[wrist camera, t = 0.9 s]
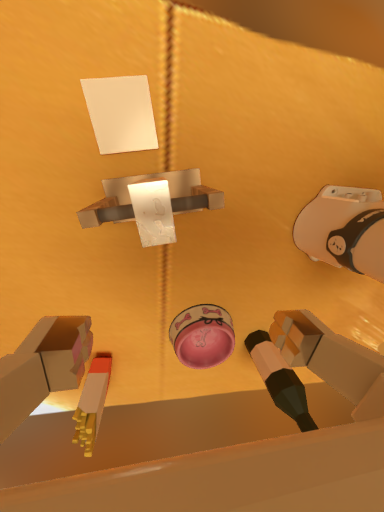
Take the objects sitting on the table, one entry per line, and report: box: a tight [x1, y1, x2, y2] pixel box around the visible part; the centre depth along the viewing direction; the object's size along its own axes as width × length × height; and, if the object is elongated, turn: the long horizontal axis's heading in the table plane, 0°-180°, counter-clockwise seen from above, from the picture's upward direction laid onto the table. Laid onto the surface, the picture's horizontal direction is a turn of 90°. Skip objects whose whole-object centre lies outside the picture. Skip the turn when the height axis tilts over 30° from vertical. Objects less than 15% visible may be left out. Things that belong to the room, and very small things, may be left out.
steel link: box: [128, 177, 177, 248], centre depth 26 cm, size 4×7×12 cm, turn 6°
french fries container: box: [72, 357, 112, 457], centre depth 45 cm, size 5×11×18 cm, turn 168°
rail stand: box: [76, 168, 224, 229], centre depth 31 cm, size 18×8×16 cm, turn 96°
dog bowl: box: [169, 304, 235, 369], centre depth 51 cm, size 18×19×7 cm
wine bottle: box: [244, 330, 318, 432], centre depth 46 cm, size 8×8×30 cm
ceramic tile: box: [80, 75, 159, 155], centre depth 31 cm, size 10×10×1 cm
